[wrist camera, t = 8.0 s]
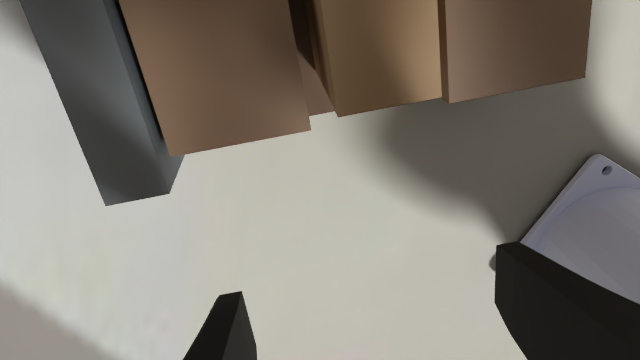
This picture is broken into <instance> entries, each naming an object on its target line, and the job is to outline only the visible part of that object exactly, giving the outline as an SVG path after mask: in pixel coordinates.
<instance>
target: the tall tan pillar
mask: <svg viewBox="0 0 640 360" xmlns="http://www.w3.org/2000/svg"><path fill="white" fill-rule="evenodd" d="M304 3H305V9H306V15H307V21H308V27H309V33H310V39H311V45H312V51H313V57H314V63H315V69H316V73H317V75H318V77H319V79H320V81H321V83H322V85H323V87H324V89H325V91H326V93H327V95H328V97H329V99H330V102H331V104H332V106H333V108H334V110H335V112H336V114H337V116H338V117H342V116H347V115H352V114H357V113H363V112H368V111H373V110H378V109H383V108H389V107H394V106H399V105H404V104H410V103H415V102H420V101H425V100H430V99H436V98H441V97H442V91H441V69H440V48H439V27H438V6H437V0H304Z"/></svg>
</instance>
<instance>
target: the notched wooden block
mask: <svg viewBox="0 0 640 360" xmlns="http://www.w3.org/2000/svg"><path fill="white" fill-rule="evenodd" d="M20 2H21V5H22V7H23V10H24V12H25V14H26V17H27V19H28V22H29V24H30V26H31V29H32V31H33V34H34V36H35V38H36V41H37V43H38V46H39V48H40V50H41V53H42V55H43V57H44V60H45V62H46V65H47V67H48V69H49V72H50V74H51V77H52V79H53V81H54V84H55V86H56V89H57V91H58V93H59V96H60V98H61V101H62V103H63V105H64V108H65V110H66V112H67V115H68V117H69V120H70V122H71V124H72V127H73V129H74V132H75V134H76V136H77V139H78V141H79V144H80V146H81V148H82V151H83V153H84V156H85V158H86V160H87V163H88V165H89V167H90V170H91V172H92V175H93V177H94V179H95V182H96V184H97V187H98V189H99V191H100V194H101V196H102V199H103V201H104V203H105V206H109V205H114V204H119V203H124V202H129V201H135V200H140V199H145V198H150V197H155V196H160V195H165V194H169V193H170V190H171V188H172V185H173V183H174V180H175V178H176V175H177V173H178V170H179V168H180V165H181V162H182V160H183V157H184V155H185V154H190V153H195V152H200V151H205V150H211V149H216V148H221V147H226V146H231V145H237V144H242V143H247V142H252V141H257V140H263V139H268V138H273V137H278V136H283V135H289V134H294V133H299V132H304V131H309V130H311V126H310V121H309V116H312V115H317V114H322V113H327V112H333V111H335V110H334V108H333V106H332V104H331V102H330V99H329V97H328V95H327V93H326V91H325V89H324V87H323V85H322V83H321V81H320V79H319V77H318V75H317V73H316V69H315V63H314V57H313V51H312V45H311V39H310V33H309V27H308V21H307V15H306V9H305V3H304V0H20ZM591 5H592V0H437V6H438V27H439V48H440V69H441V91H442V97H441V98H443V99H444V100H445V101H447V102H448V103H449V104H450V103H455V102H460V101H466V100H471V99H476V98H481V97H486V96H492V95H497V94H502V93H507V92H512V91H518V90H523V89H528V88H533V87H538V86H544V85H549V84H554V83H559V82H564V81H570V80H575V79H580V78H585V71H586V60H587V49H588V38H589V27H590V16H591Z"/></svg>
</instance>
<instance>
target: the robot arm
mask: <svg viewBox="0 0 640 360" xmlns="http://www.w3.org/2000/svg"><path fill="white" fill-rule="evenodd" d="M606 166H607V168H606V170H604V171H603V172H602V170H603V168H604V167H606ZM495 304H496V306H497V308H498V310H499V312H500V314H501V316H502V319H503V321H504V322H505V324H506V326H507V328H508V330H509V332H510V334H511V335H512V337H513V339H514V340H515V342H516V343H517V345H518V346H519V348H520V349H521V351H522V352H523V354H524V355H525V357H526V358H527V359H528V360H640V178H639V177H637V176H636V175H634V174H633V173H631V172H629V171H628V170H626V169H625V168H623V167H621V166H620V165H618V164H617V163H615V162H613V161H612V160H610V159H608V158H607V157H605V156H603V155H601V154H595V155H593V156H591V157H590V158H589V159H588V160H587V161H586V163H585V164H584V165H583V166H582V167H581V169H580V170H579V171H578V172H577V173H576V175H575V176H574V177H573V178H572V180H571V181H570V182H569V183H568V184H567V186H566V187H565V188H564V189H563V190H562V192H561V193H560V194H559V195H558V197H557V198H556V199H555V200H554V201H553V203H552V204H551V205H550V206H549V207H548V209H547V210H546V211H545V212H544V214H543V215H542V216H541V217H540V218H539V220H538V221H537V222H536V223H535V224H534V226H533V227H532V228H531V229H530V231H529V232H528V233H527V234H526V235H525V237H524V238H523V239H522V240H521V241H520V242H518V241H517V242H512V243H506V244H501V245H497V246H496V276H495ZM183 360H257V350H256V343H255V340H254V336H253V332H252V328H251V325H250V321H249V317H248V313H247V309H246V306H245V302H244V298H243V294H242V291H240V292H234V293H229V294H223V295H219V297H218V298H217V299H216V301H215V303H214V305H213V307H212V309H211V311H210V313H209V315H208V317H207V319H206V321H205V322H204V324H203V326H202V328H201V330H200V332H199V333H198V335H197V337H196V338H195V340H194V342H193V344H192V345H191V347H190V349H189V350H188V352H187V354H186V355H185V357H184V359H183Z"/></svg>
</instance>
